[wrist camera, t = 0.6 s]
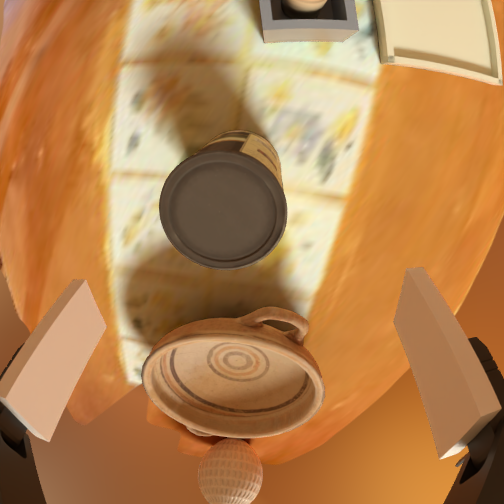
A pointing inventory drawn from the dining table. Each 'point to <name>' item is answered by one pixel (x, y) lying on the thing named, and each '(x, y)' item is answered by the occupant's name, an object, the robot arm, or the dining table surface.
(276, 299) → the dining table surface
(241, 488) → the vase
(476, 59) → the tray
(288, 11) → the dowel
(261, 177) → the coffee can
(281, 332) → the ceramic bowl
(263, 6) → the grey square bin
